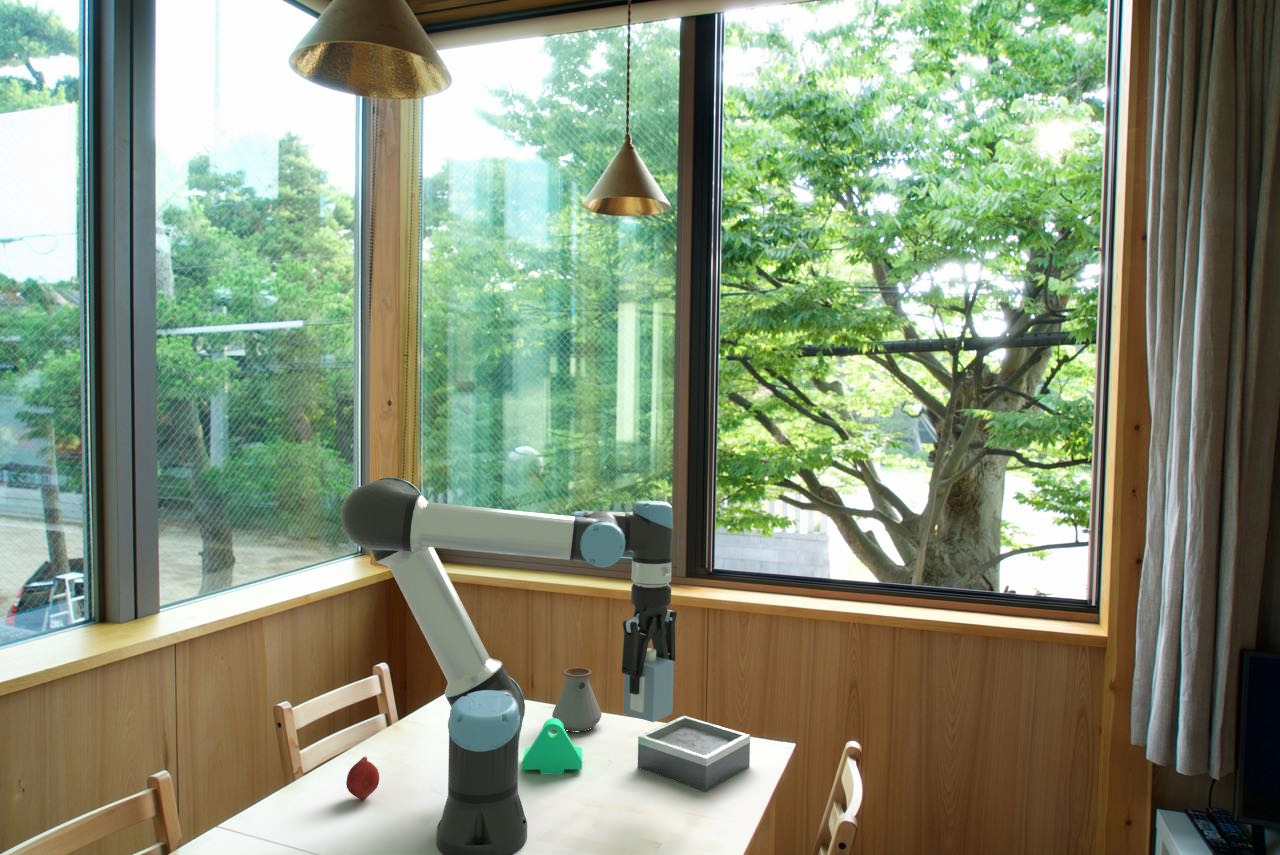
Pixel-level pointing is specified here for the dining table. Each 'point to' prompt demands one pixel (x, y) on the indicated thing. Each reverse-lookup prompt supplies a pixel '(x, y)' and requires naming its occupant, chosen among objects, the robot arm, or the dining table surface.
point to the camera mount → (552, 750)
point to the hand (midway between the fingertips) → (648, 705)
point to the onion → (362, 779)
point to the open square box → (694, 752)
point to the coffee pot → (577, 702)
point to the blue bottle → (653, 688)
